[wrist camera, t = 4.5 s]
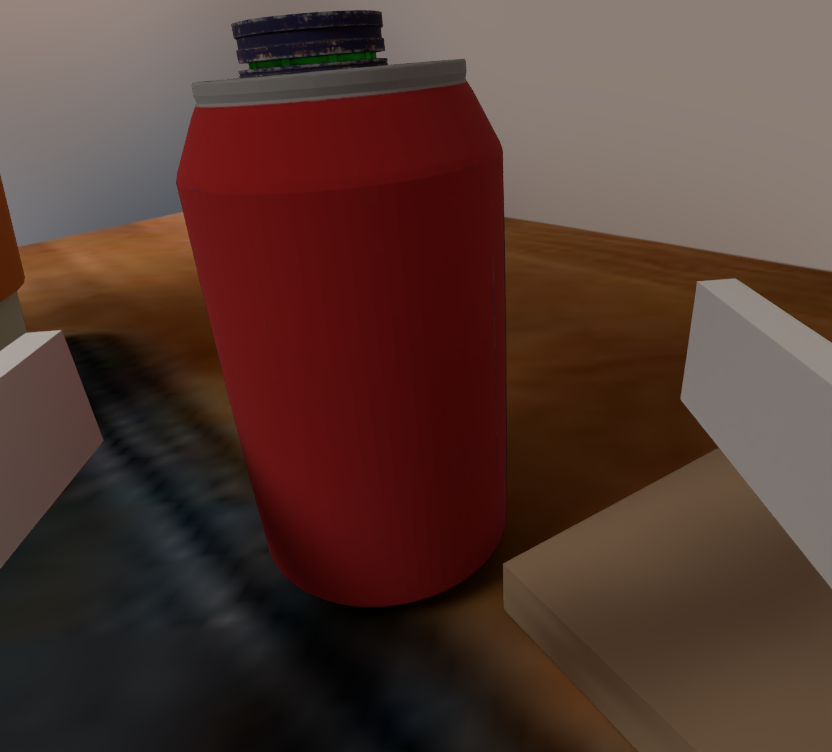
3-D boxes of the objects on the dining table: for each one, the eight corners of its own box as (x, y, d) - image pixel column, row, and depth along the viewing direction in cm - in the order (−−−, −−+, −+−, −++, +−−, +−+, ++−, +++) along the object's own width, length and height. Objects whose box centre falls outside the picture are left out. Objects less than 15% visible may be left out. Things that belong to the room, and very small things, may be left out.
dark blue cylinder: (276, 275, 41) (227, 18, 34) (269, 240, 49) (229, 29, 42) (419, 253, 43) (400, 6, 36) (388, 223, 51) (368, 19, 44)
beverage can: (534, 487, 19) (540, 51, 13) (459, 668, 13) (418, 64, 8) (346, 450, 22) (286, 73, 16) (220, 589, 16) (65, 93, 11)
